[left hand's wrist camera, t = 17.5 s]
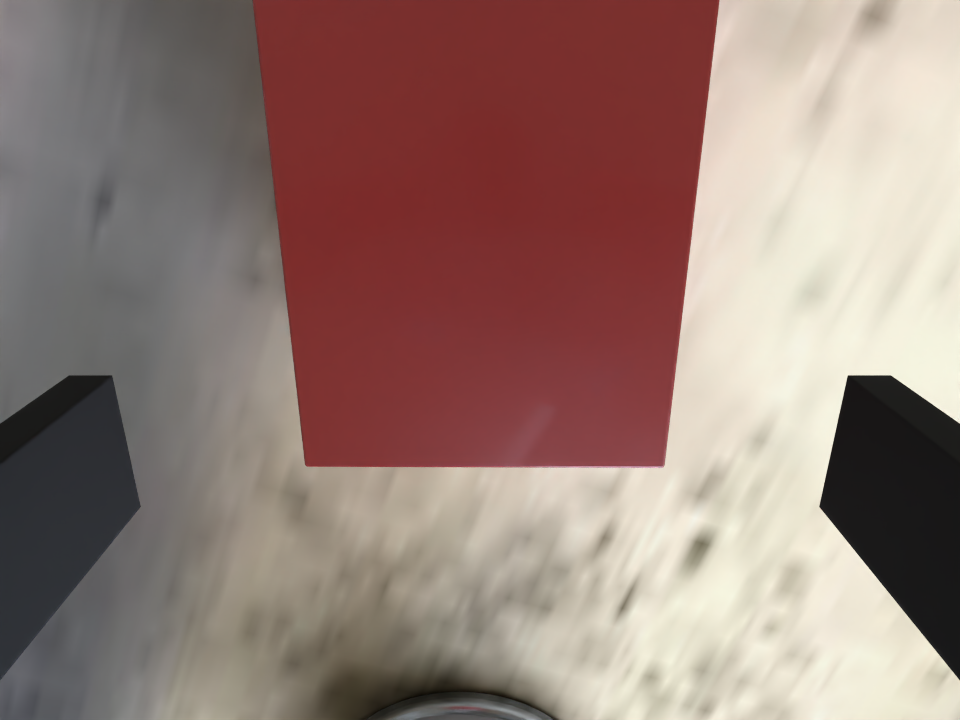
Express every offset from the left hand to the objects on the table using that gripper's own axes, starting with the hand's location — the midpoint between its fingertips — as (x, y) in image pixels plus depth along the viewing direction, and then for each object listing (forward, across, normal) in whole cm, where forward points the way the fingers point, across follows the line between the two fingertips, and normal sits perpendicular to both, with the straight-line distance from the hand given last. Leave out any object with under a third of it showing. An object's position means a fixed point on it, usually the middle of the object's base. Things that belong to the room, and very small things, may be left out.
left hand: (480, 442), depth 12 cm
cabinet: (+17, 0, -4) cm, 17 cm away
